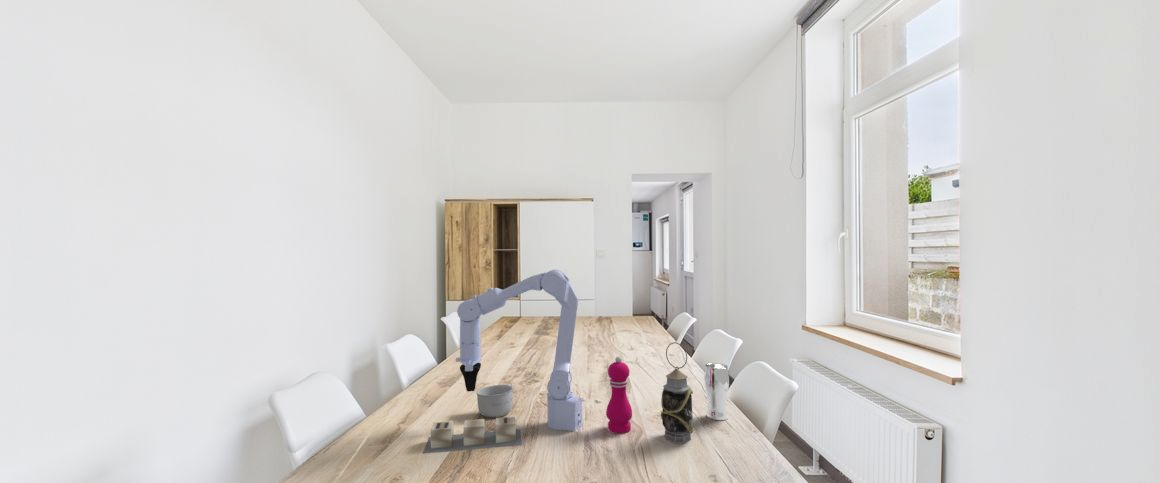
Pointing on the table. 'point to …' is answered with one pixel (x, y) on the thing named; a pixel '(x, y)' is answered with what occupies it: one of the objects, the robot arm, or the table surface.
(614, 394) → the pepper mill
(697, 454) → the table surface
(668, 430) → the lantern
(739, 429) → the table surface
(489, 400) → the teacup
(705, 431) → the table surface
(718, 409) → the silver tall cylinder
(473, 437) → the plain block
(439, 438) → the marked block two
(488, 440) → the mat
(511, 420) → the marked block one
